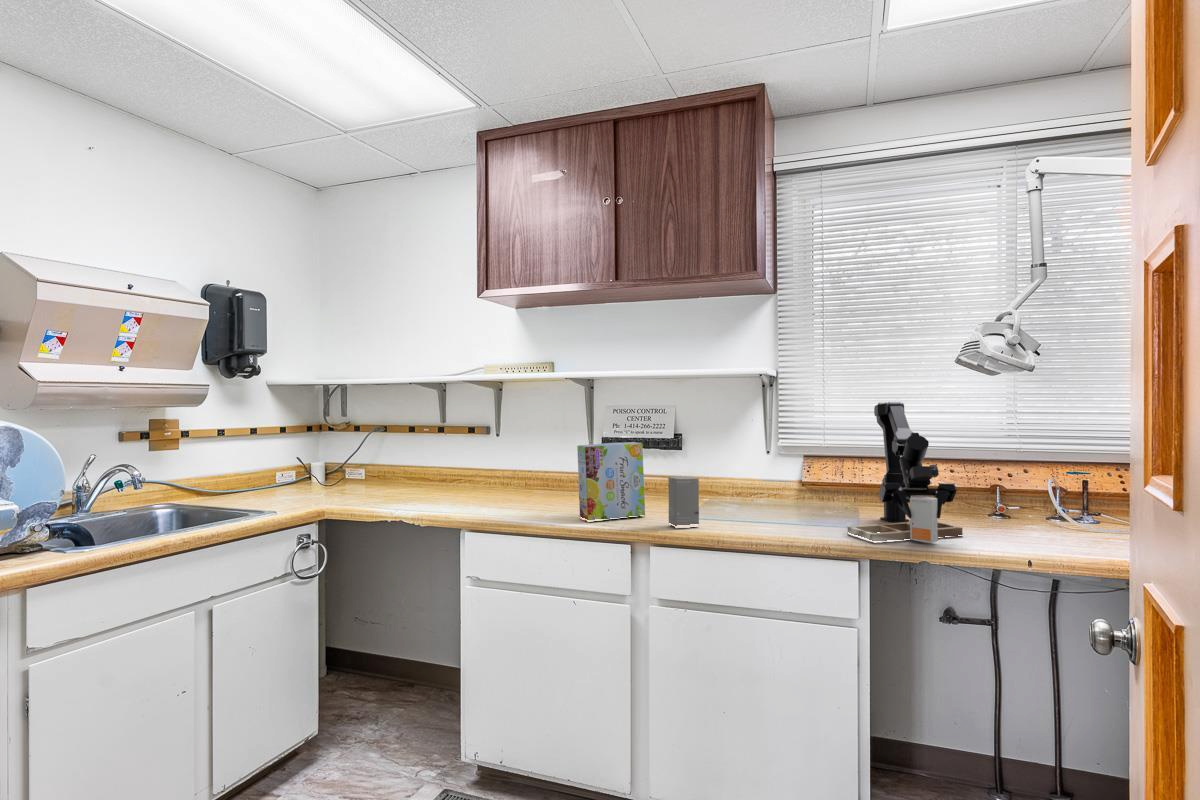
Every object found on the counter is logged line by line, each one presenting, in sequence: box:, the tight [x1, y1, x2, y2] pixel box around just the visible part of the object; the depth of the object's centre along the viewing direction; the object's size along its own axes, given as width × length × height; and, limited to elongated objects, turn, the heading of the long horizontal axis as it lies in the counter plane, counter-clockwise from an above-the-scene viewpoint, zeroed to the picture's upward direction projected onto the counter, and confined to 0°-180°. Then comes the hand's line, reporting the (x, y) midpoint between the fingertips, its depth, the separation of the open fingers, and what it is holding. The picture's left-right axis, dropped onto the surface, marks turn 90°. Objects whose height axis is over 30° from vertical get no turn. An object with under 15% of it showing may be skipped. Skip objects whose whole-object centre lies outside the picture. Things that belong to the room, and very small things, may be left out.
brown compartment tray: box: [846, 521, 964, 541], centre depth 193 cm, size 12×30×2 cm, turn 104°
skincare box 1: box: [667, 476, 700, 526], centre depth 211 cm, size 8×7×16 cm
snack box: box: [576, 441, 646, 520], centre depth 227 cm, size 22×9×26 cm, turn 113°
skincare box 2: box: [909, 496, 939, 544], centre depth 184 cm, size 6×4×12 cm
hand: (924, 517), depth 182 cm, fingers closed on skincare box 2, 7 cm apart
